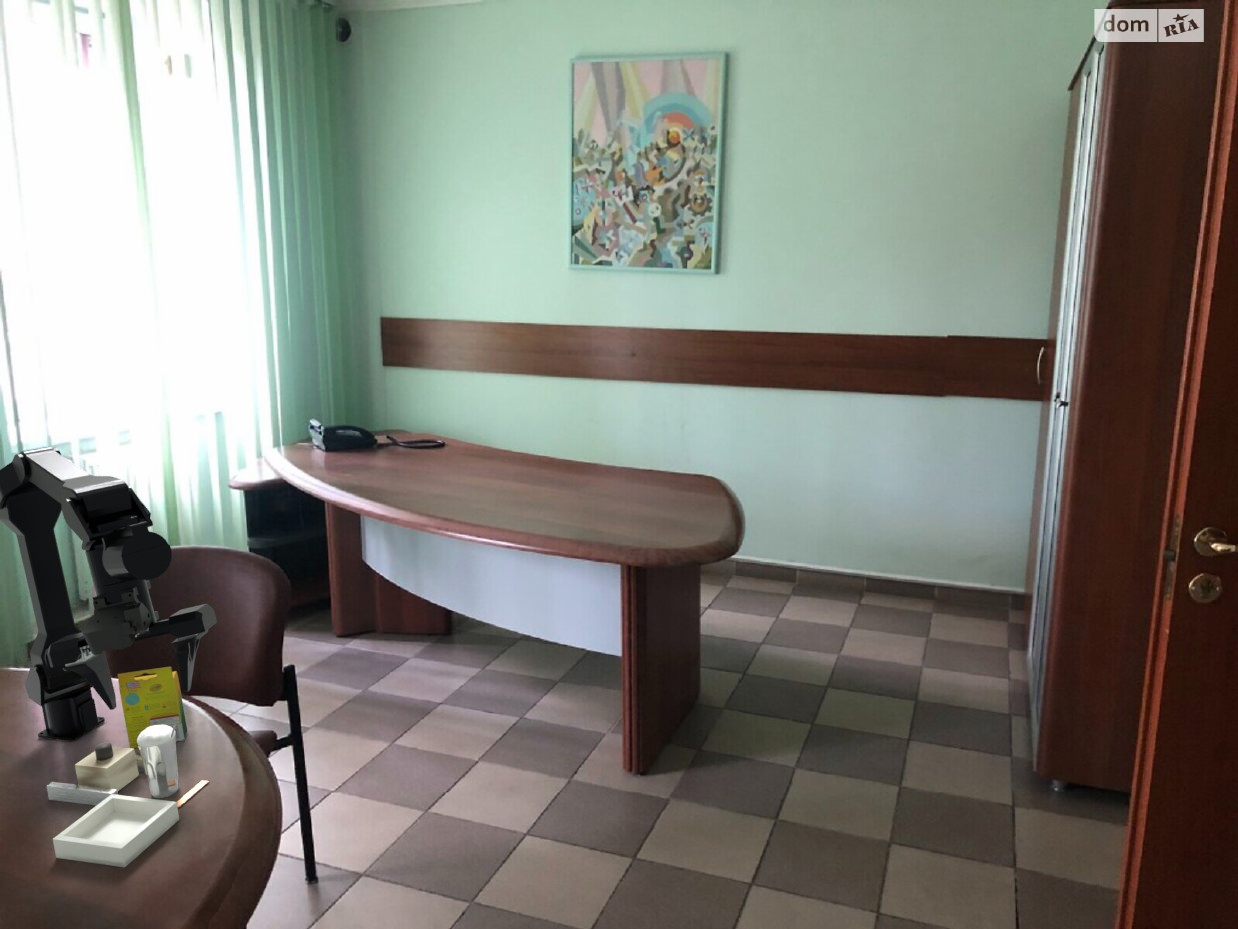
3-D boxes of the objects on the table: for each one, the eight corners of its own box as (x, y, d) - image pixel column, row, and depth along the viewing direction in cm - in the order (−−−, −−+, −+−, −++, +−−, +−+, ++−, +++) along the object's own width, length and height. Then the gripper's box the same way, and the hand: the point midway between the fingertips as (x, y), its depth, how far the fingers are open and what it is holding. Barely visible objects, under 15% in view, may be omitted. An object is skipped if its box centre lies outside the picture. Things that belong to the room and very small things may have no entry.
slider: (79, 792, 128) (72, 754, 126) (107, 772, 132) (101, 735, 131) (111, 796, 126) (105, 758, 125) (138, 775, 131) (132, 738, 130)
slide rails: (49, 799, 127) (46, 786, 126) (100, 763, 135) (97, 750, 135) (171, 815, 122) (168, 800, 122) (215, 776, 131) (214, 763, 130)
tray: (56, 857, 114) (52, 839, 114) (114, 811, 123) (111, 794, 123) (124, 867, 112) (121, 848, 111) (179, 819, 121) (176, 802, 120)
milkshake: (175, 803, 125) (163, 733, 122) (138, 800, 126) (126, 730, 123) (196, 784, 129) (186, 715, 127) (161, 781, 130) (150, 712, 128)
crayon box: (188, 731, 143) (176, 658, 140) (184, 741, 140) (173, 667, 138) (133, 739, 141) (121, 665, 139) (129, 749, 139) (116, 674, 136)
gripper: (10, 611, 112) (44, 739, 114) (174, 574, 114) (206, 701, 116) (54, 593, 124) (85, 710, 125) (202, 560, 125) (232, 675, 127)
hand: (150, 699), depth 123 cm, fingers open, 9 cm apart
